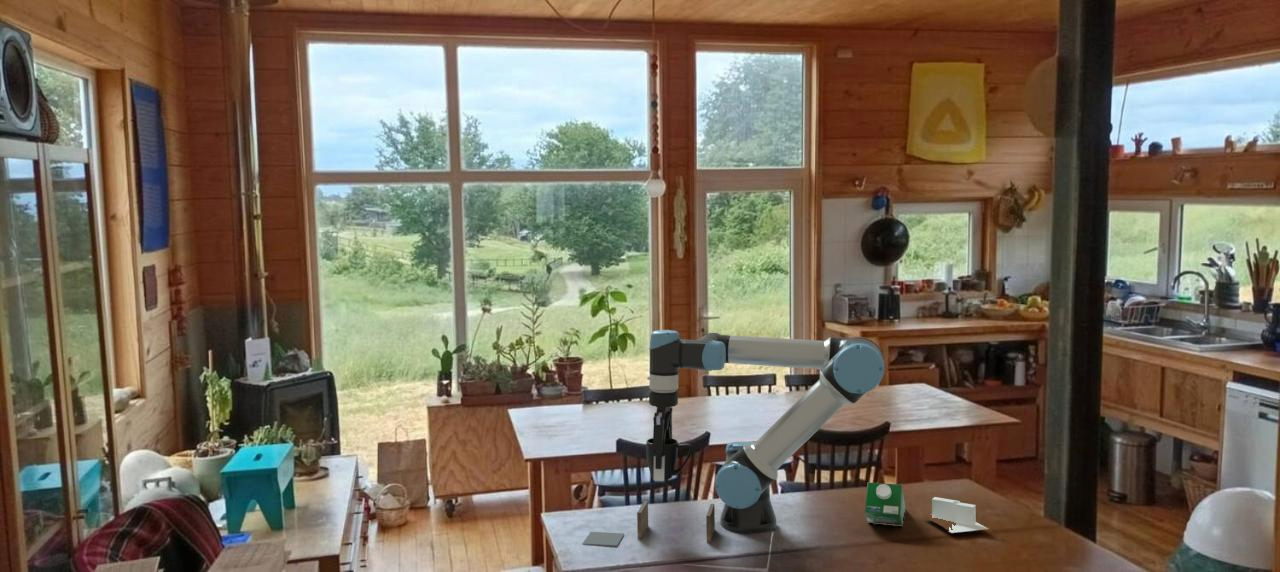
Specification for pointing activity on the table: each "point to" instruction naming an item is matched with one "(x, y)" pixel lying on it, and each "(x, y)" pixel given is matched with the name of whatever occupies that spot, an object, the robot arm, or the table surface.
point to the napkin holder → (956, 514)
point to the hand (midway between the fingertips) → (662, 475)
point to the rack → (643, 521)
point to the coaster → (603, 539)
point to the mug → (667, 457)
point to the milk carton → (885, 503)
